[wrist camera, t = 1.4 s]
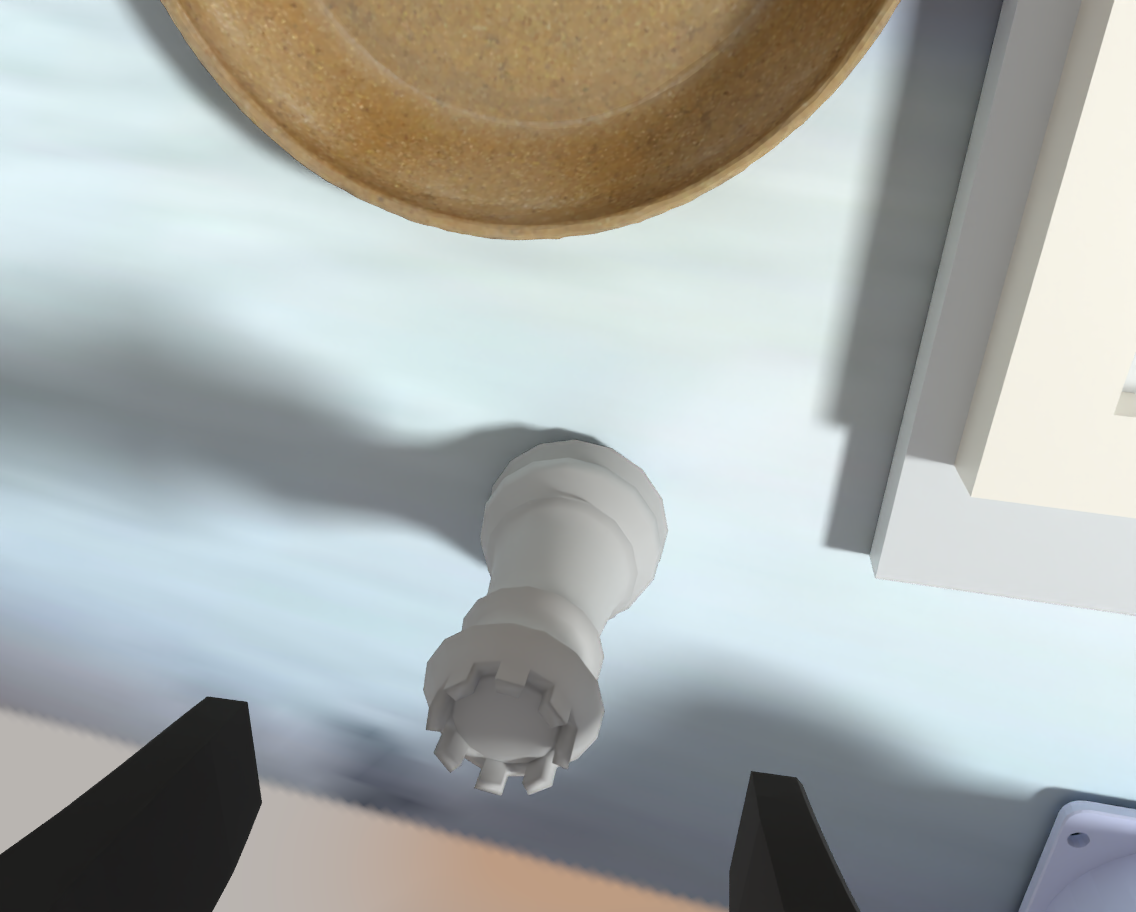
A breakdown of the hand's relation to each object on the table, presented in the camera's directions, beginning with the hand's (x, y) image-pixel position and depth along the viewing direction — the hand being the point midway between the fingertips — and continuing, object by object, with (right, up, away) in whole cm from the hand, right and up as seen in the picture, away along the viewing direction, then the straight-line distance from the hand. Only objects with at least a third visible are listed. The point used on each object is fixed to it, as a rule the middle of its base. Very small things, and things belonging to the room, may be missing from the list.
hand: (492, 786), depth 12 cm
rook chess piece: (+1, +3, +9) cm, 10 cm away
